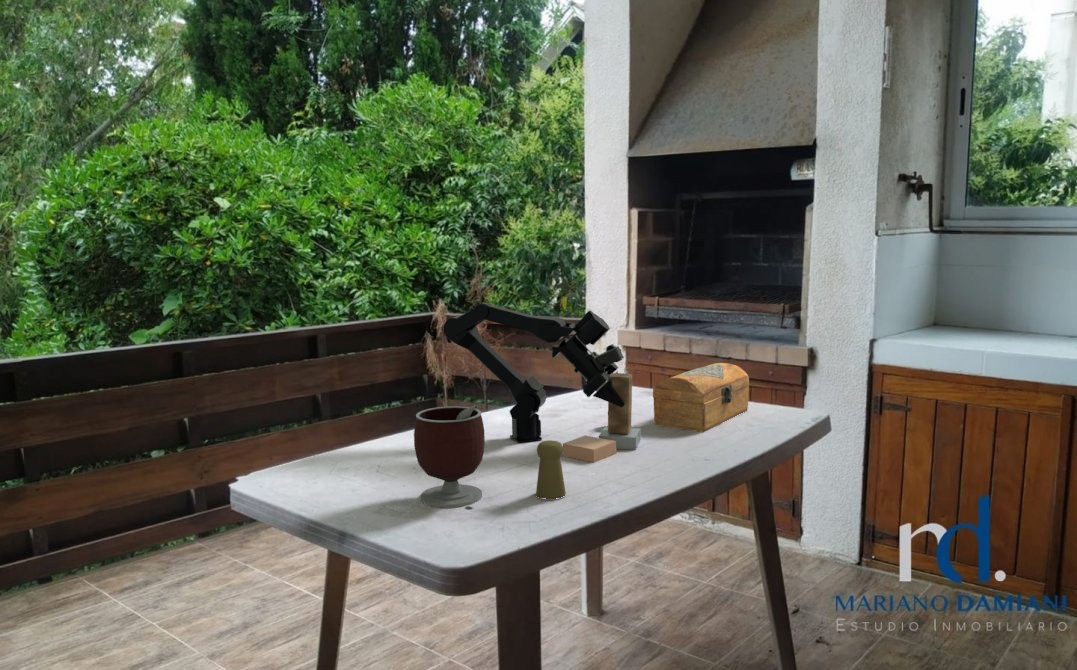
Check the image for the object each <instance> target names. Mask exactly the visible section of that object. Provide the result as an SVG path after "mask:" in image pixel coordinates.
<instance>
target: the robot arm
mask: <svg viewBox="0 0 1077 670" xmlns="http://www.w3.org/2000/svg"><path fill="white" fill-rule="evenodd" d="M484 321H489V322H493V323H496V324H500V325H503V326H508V327H511V328H515V329H519V330H522V331H525V332H528V333H530V334H532V335H533V336H534V337H535V338H538V339H540V340H542V341H543V342H547V343H549V344H551V343H552V344H553V343H556V342H558V341H559V340H561V339H563V338H564V337H565V338H564V339H563V340H561V342H559V343H558V345H555V344H554V345H552V346H551V349H552V353H551V357H552V358H555V357H557V356H558V355H559V354H561V355H562V357H563V358H564V359H565V360H566V361H567V362H568V363H569V364H570V365H571V366H572V367H573V368H574V369H573V371H574V373H576V374H578V373H579V374H580V375H581V377H582V378H583V379H584V380H585V384H584V386H582V392H583V394H584V395H585V396H586V397H587V398H590V397H591V396H592V397H594V398H598V399H600V400H603V401H605V402H607V403H608V402H610V403H612V404H615V405H617V406H619V407H623V406H624V405H625V404H624V402H623V401H622V399H621V398H620V396H619V395H618V394H617V392H616V391H615V389H614V388H613V386H612V378H610V379H609V376H610V375H611V374H612V373H619V372H618V369H619V366H618V365H617V364H616V363H619V362H620V361H622V360H623V359H624V358H625V357H624V354H623V353H622V348H620V346H616V345H614V344H613V343H612V344H609V345H607V346H606V350H605V351H604V352H602V353H599V354H598V353H597V352H596V351H591V350H590V349H589V348H588V347H587V346H589V345H591V346H594V345H596V344H597V343H598V342H599V340H601V338H603V336H604V335H605V334H606V333H608V332H609V331H610V329H611V328H610V326H609V325H608V322H606V321H605V320H604V319H603V317H600V316H599V315H597V313H594V312H593V311H592V310H588V311H587V312H586V313H585V314H584V315H583V317H582V318H581V319H580V320H578V322H577V323H572V322H566V321H565V320H564V319H563V318H562V317H560V316H559V317H557V316H547V315H531V314H528V313H524V312H520V311H518V310H517V311H516V310H513V309H509V308H506V307H502V306H499V305H494V304H492V303H490V302H482V303H479V304H478V305H476V307H474V308H472V309H470V310H469V311H467V312H465V313H464V314H462V315H461V314H460V315H457V316H453V317H451V318H448V319H447V320H446V321H444V324H443V334H444V336H445V337H446V338H447V339H448V340H450V341H451V342H452V343H454V344H455V345H457V346H459V347H461V348H463V349H465V350H468V351H469V352H470V353H471V354H472V355H473V356H474V357H475V358H476V359H477V360H478V361H479V362H481V363H482V364H483V365H484V366H485V367H486V368H487V369H488V370H489V371H490V372H491V374H493V375H494V376H495V377H496V378H498V379H499V381H501V382H502V383H503V384H504V385H505V386H506V387H507V388H508V390H509V391H510V394H511V397H512V398H513V401H515V404H514V406H513V407H511V409H510V410H509V414H510V416H511V433H512V434H510V435H509V438H510V439H512V440H513V441H515V442H516V443H525V442H526V443H527V442H528V443H529V442H536V441H543V437H541V436H542V422H541V420H540V415H539V414H538V412H539V410H540V408H541V407H542V406H544V404H545V403H546V401H547V393H546V392H547V391H546V390H545V389H544V388H543V387H545V385H543V384H541V383H540V382H539V381H538V380H537V379H536V378H535V377H534V375H530V376H529V377H527V378H526V376H522V375H521V374H520V373H519V372H518V371H517V370H515V368H513V366H511V364H509V362H508V361H506V360H505V358H503V357H502V356H501V354H499V353H498V352H497V351H495V349H494V348H492V346H491V345H490V344H489V343H487V342H486V341H485V340H484V339H483V337H482V336H481V334H480V331H479V329H478V328H477V326H478V325H480V324H481V323H483V322H484ZM572 334H573V335H572ZM569 335H572V336H571V337H570V338H567V337H569Z"/></svg>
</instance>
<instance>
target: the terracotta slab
mask: <svg viewBox="0 0 1077 670" xmlns="http://www.w3.org/2000/svg"><path fill="white" fill-rule="evenodd" d="M562 446H563V454H562V456H563V457H566V458H572V459H575V458H576V459H577V460H579V461H580V460H581V461H586V462H589V463H590V462H591V463H596V462H599V461H601V460H603V459H607V458H608V457H612V456H614V455H615V454H617V449H616V441H613V440H607V439H602V438H599V437H595V436H591V435H590V436H589V435H583V436H579V437H577V438H574V439H571V440H568V441H566V442H563V443H562ZM576 459H575V460H576Z"/></svg>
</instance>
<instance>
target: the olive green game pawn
mask: <svg viewBox="0 0 1077 670" xmlns="http://www.w3.org/2000/svg"><path fill="white" fill-rule="evenodd" d="M536 454H537V456H538V458H539V464H538V474H537V481H536V490H535V497H536V496H537V497H539V498H546V499H556V498H561V497H563V496H565V494H566V495H567V492H566V488H565V487H566V486H565V480H564V474H563V467H562V460H561V458H562V456H563V443H561V442H559V441H558V440H552V439H551V440H550V439H549V440H548V439H547V440H541V442H539V443H538V444H537V448H536ZM537 497H536V498H537ZM565 497H566V496H565ZM539 498H538V499H539ZM561 499H562V498H561Z"/></svg>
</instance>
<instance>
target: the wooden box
mask: <svg viewBox="0 0 1077 670" xmlns="http://www.w3.org/2000/svg"><path fill="white" fill-rule="evenodd" d="M749 381H750V377H749V375H748V374H747V372H746V370H744V369H743V368H741V367H740V366H738V365H735V364H732V363H727V362H717V363H712V364H709V365H706V366H702V367H697V368H694V369H692V370H691V369H690V370H688V371H685V372H682V373H679V374H677V375H675V376H671V377H669V378H664V379H663V380H661V381H660V380H659V382H657V384H656V385H655V386H654V387H653V388H652V398H653V419H654V426H660V427H667V428H672V427H673V428H674V429H679V430H685V429H686V431H692V430H693V431H692V432H694V431H695V432H701V433H706V432H707V431H709V430H711V429H713V428H715V427H717V426H719V425H721V424H723V422H724V423H725V421H726V422H728V421H730V420H731V419H733V417H734V418H736V417H738V416H740V415H741V413H742V414H744V413H746V412H747V411H748V409H749V400H750V399H749V396H750V386H749V385H750V382H749ZM745 411H746V412H745ZM743 412H744V413H743ZM739 414H740V415H739ZM737 415H738V416H737ZM735 416H736V417H735ZM729 419H730V420H729ZM727 420H728V421H727Z"/></svg>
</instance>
